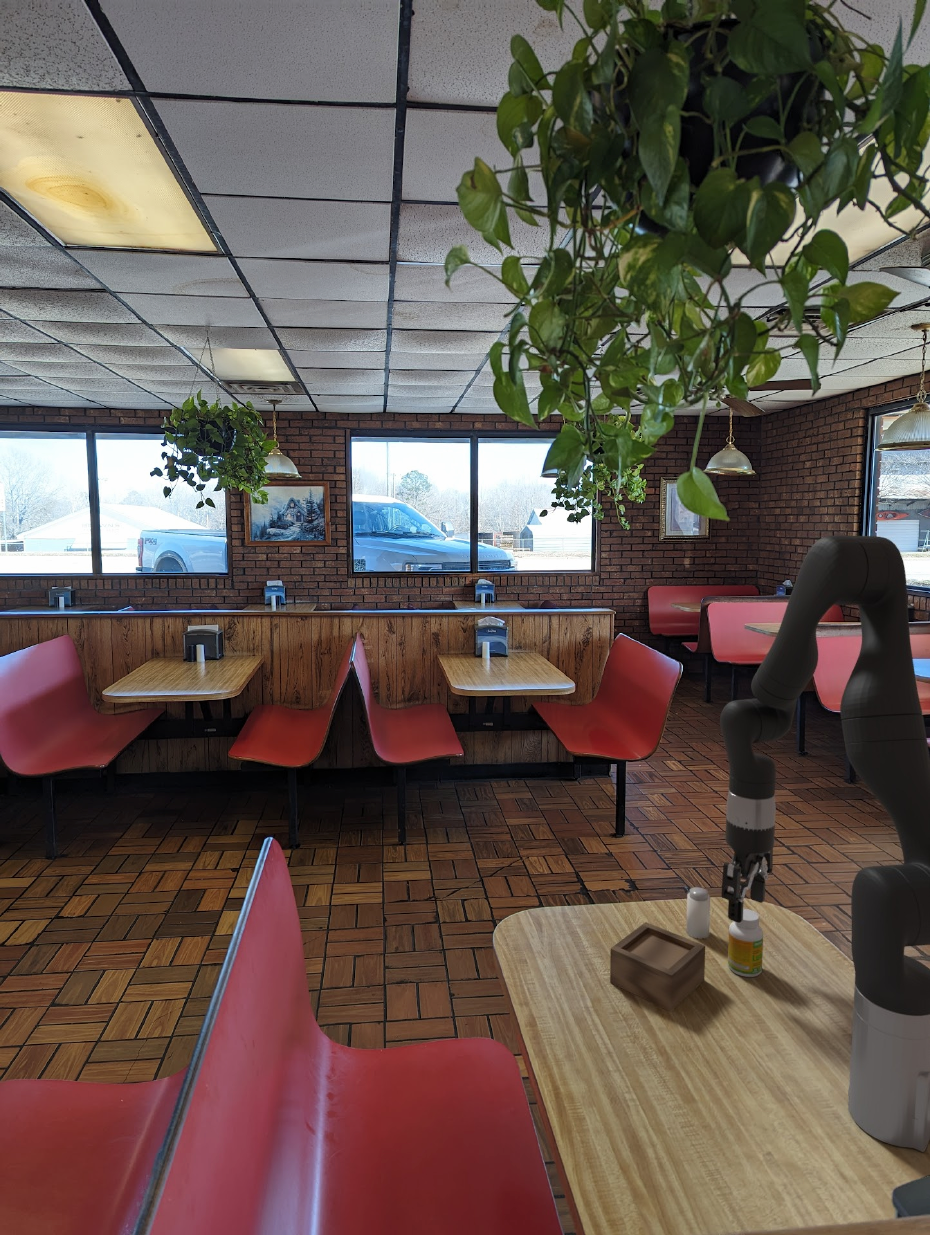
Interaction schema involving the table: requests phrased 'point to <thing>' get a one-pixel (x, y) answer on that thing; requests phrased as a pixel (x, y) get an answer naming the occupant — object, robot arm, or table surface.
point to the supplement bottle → (746, 945)
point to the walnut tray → (657, 965)
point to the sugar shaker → (698, 913)
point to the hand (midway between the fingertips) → (746, 910)
